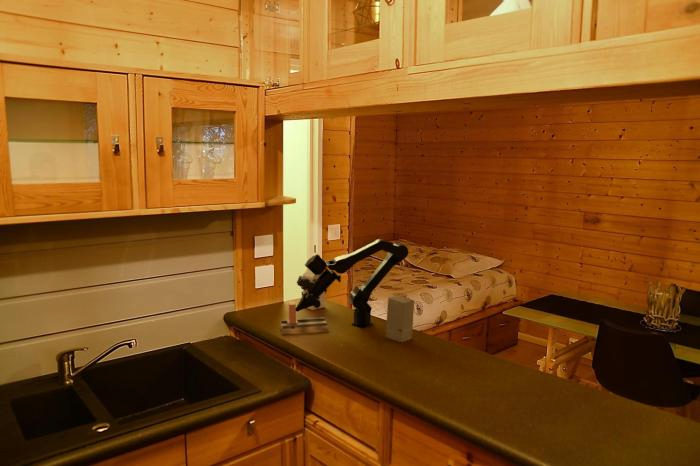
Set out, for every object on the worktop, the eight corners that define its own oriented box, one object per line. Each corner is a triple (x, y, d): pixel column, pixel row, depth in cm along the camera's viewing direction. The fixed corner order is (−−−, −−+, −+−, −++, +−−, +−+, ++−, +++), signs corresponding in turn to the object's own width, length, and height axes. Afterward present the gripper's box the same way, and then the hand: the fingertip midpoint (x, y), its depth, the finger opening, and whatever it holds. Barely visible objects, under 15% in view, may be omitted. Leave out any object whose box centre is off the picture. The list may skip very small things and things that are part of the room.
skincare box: (385, 337, 206) (385, 297, 203) (397, 333, 211) (398, 294, 208) (401, 343, 200) (402, 302, 197) (414, 339, 204) (415, 298, 202)
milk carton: (312, 310, 240) (312, 269, 237) (303, 307, 245) (302, 266, 242) (325, 307, 245) (324, 266, 242) (315, 304, 250) (314, 264, 247)
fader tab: (296, 321, 218) (296, 300, 216) (298, 325, 213) (297, 304, 211) (286, 322, 217) (286, 301, 215) (288, 326, 212) (287, 304, 211)
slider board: (324, 323, 223) (324, 316, 222) (328, 331, 213) (328, 324, 213) (280, 326, 219) (280, 319, 219) (282, 334, 210) (282, 327, 209)
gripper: (305, 264, 222) (279, 291, 221) (311, 274, 204) (283, 304, 203) (324, 281, 225) (298, 308, 224) (332, 293, 206) (304, 323, 206)
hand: (295, 310), depth 214 cm, fingers closed, pressing on fader tab
